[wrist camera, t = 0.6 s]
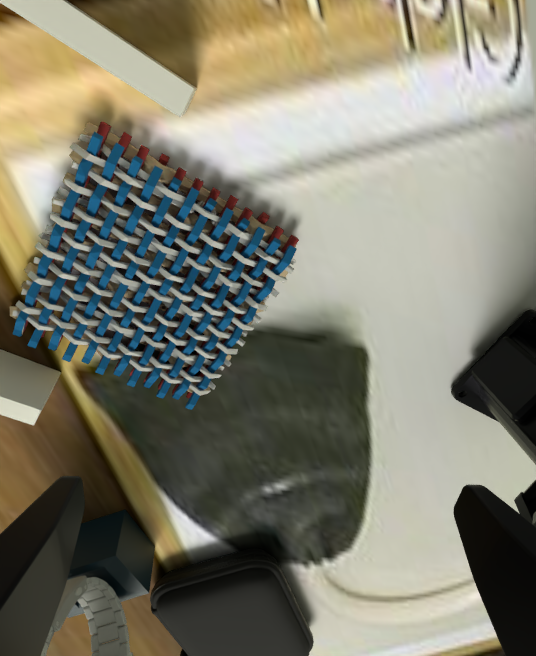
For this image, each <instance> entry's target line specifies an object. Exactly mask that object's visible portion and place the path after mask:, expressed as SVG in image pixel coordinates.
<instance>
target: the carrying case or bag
mask: <svg viewBox="0 0 536 656" xmlns="http://www.w3.org/2000/svg"><path fill="white" fill-rule="evenodd" d="M150 601H151V611H152V613H153V614H154V615H156V617H157V618H158V619H159V620H160V621H161V623H162V624H163V625H164V626H165V628H166V629H167V630H168V631H169V633H170V634H171V635H172V636H173V637H174V639H175V640H176V641H177V642H178V644H179V645H180V646H181V647H182V651H181V654H180V656H308V655H309V652H310V651H311V649H312V647H313V636H312V633H311V631H310V628H309V626H308V624H307V622H306V620H305V618H304V616H303V614H302V612H301V610H300V608H299V605H298V603H297V601H296V599H295V597H294V595H293V593H292V591H291V589H290V586H289V584H288V582H287V580H286V578H285V576H284V574H283V572H282V570H281V568H280V566H279V564H278V562H277V561H276V560H275V558H274V557H272V556H271V555H269V554H268V553H267V552H265V551H264V550H262V549H247V550H243V551H240V552H236V553H232V554H229V555H225V556H222V557H218V558H215V559H211V560H208V561H204V562H201V563H197V564H194V565H190V566H187V567H183V568H180V569H176V570H173V571H171V572H169V573H167V574H166V575H164V576H163V578H162V579H160V580H159V581H158V582H157V583H156V584H155V586H154V588H153V589H152V592H151V598H150Z"/></svg>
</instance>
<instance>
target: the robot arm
mask: <svg viewBox="0 0 536 656" xmlns="http://www.w3.org/2000/svg"><path fill="white" fill-rule="evenodd" d="M531 318H533V319H532V320H531V321H530V319H531ZM461 391H462V392H461ZM460 392H461V393H460ZM451 394H452V395H453V397H454V398H455V399H456V400H458V401H459V402H461V403H463V404H465V405H467V406H469V407H471V408H473V409H475V410H477V411H479V412H481V413H483V414H485V415H487V416H489V417H490V418H492V419H494V420H496V421H498V422H500V423H501V424H502V426H503V427H504V428H505V429H506V430H507V431H508V433H509V434H510V435H511V436H512V437H513V439H514V440H515V441H516V442H517V443H518V444H519V446H520V447H521V448H522V449H523V450H524V451H525V453H526V454H527V455H528V456H529V457H530V458H531V460H532V461H533V462H534V463H535V464H536V311H535V310H528V311H526V312H525V313H523V314H522V315H521V316H520V317H519V318H518V319H517V320H516V322H515V323H514V324H513V325H512V326H511V327H510V328H509V329H508V330H507V331H506V332H505V333H504V334H503V335H502V336H501V337H500V338H499V339H498V340H497V341H496V343H495V344H494V345H493V346H492V347H491V348H490V349H489V350H488V351H487V352H486V353H485V354H484V355H483V356H482V357H481V358H480V359H479V360H478V361H477V363H476V364H475V365H474V366H473V367H472V368H471V369H470V370H469V371H468V372H467V373H466V374H465V375H464V376H463V377H462V378H461V379H460V380H459V381H458V382H457V384H456V385H455V386H454V387H453V388H452V390H451ZM514 501H515V503H516V506H517V508H518V511H519V513H520V514H519V513H518V512H516V511H515V510H514V509H513V508H511V507H510V506H509V505H507V504H506V503H505V502H504V501H502V500H501V499H500V498H499V497H497V496H496V495H495V494H493V493H492V492H491V491H490V490H488V489H487V488H486V487H484V486H482V485H466V486H464V487H463V489H462V491H461V493H460V495H459V498H458V500H457V502H456V504H455V506H454V517H455V521H456V524H457V527H458V531H459V534H460V537H461V540H462V543H463V547H464V550H465V553H466V556H467V559H468V563H469V566H470V569H471V572H472V575H473V578H474V581H475V583H476V586H477V588H478V591H479V593H480V596H481V598H482V601H483V603H484V605H485V608H486V610H487V613H488V615H489V617H490V620H491V622H492V625H493V627H494V630H495V632H496V634H497V637H498V639H499V642H500V644H501V646H502V649H503V651H504V654H505V656H536V480H535V481H534V482H533V483H532V484H531V485H530V486H529V487H528V489H527V490H526V491H525V492H521V493H520V494H519V495H518V496H517V497H516V498H515V500H514ZM84 507H85V500H84V491H83V483H82V479H81V477H78V476H62V477H60V478H59V479H57V480H56V481H55V482H54V483H53V484H52V485H51V486H50V487H49V488H48V489H47V490H46V491H45V492H44V493H43V494H42V495H41V496H40V497H39V498H38V499H36V500H35V501H34V502H33V503H32V504H31V505H30V506H29V507H28V508H27V509H26V510H25V511H24V512H23V513H22V514H21V515H20V516H19V517H18V518H17V519H16V520H14V521H13V522H12V523H11V524H10V525H9V526H8V527H7V528H6V529H5V530H4V531H3V532H2V533H1V534H0V656H41V653H42V651H43V648H44V645H45V642H46V639H47V637H48V634H49V631H50V628H51V626H52V623H53V620H54V617H55V614H56V612H57V609H58V606H59V603H60V600H61V598H62V595H63V592H64V589H65V586H66V582H67V578H68V575H69V571H70V567H71V563H72V558H73V554H74V550H75V546H76V542H77V538H78V534H79V530H80V526H81V522H82V517H83V513H84Z"/></svg>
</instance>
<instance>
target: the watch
mask: <svg viewBox="0 0 536 656" xmlns="http://www.w3.org/2000/svg"><path fill="white" fill-rule="evenodd" d="M154 550H155V547H154V545H153V544H152V543H151V541H150V540H149V539H148V538H147V536H146V535H145V534H144V533H143V531H142V530H141V529H140V528H139V526H138V525H137V524H136V522H135V521H134V520H133V519H132V517H131V516H130V515H129V514H128V512H127V511H126V510H122V511H119V512H116V513H113V514H110V515H107V516H104V517H101V518H98V519H94V520H91V521H88V522H85V523H82V524H81V526H80V530H79V534H78V538H77V542H76V546H75V550H74V554H73V558H72V563H71V567H70V571H69V575H68V578H67V582H66V586H65V589H64V592H63V595H62V598H61V600H60V603H59V606H58V609H57V612H56V614H55V617H54V620H53V623H52V626H51V628H50V631H49V634H48V637H47V639H46V642H45V645H44V648H43V651H42V653H41V656H46V652H47V649H48V647H49V644H50V641H51V639H52V636H53V634H54V632H56V631H58V630H60V629H61V627H62V625H63V623H64V621H65V619H66V617H68V618H70V617H73V616H76V615H79V614H83V613H85V615H86V618H87V619H89V621H88V624H89V629H90V634H91V635H92V637H91V650H92V652H95V653H93V654H92V656H133V653H130V647H129V643H126V642H129V634H128V628H127V625H125V624H126V623H127V622H126V618H125V614H124V611H123V609H122V605H121V602H122V601H125V600H128V599H131V598H135V597H138V596H141V595H144V594H148V593H149V589H150V581H151V574H152V566H153V558H154ZM115 621H116V622H115ZM112 622H113V623H112ZM105 624H106V625H105ZM102 625H103V626H102ZM122 625H123V626H122ZM99 626H100V627H99ZM96 633H97V634H96ZM93 634H94V635H93ZM115 639H118V640H115ZM112 640H115V641H112ZM109 641H111V642H109ZM105 642H108V643H105ZM102 643H105V644H102ZM123 643H125V644H123ZM96 651H98V652H96Z"/></svg>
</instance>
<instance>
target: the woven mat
mask: <svg viewBox="0 0 536 656" xmlns="http://www.w3.org/2000/svg"><path fill="white" fill-rule="evenodd" d="M110 128H111V126H110V125H108V124H106V123H105V122H101V123H100V125H99V127H98V126H96V125H94V124H91V123H89V122H87V124H86V126H85V128H84V132H86V133H87V134H89V135H90V136H88V135H83V134H80V136H79V139H78V140H81V141H85V142H89V145H88V148H87V151H85V150H84V149H82V148H81V147H80V146H78V145H77V144H76V143H73V144H72V145H71V146H70V148H71V149H73V152H72V153H71V154H70V155H69V156H70V157H71V158H72V159H73V161H74V162H72V166H71V167H72V168H75V169H77V173H76V176H75V175H72V174H70V173H68V172H67V173H66V175H65V177H64V179H63V183H65V184H66V185H67V186H68V187H70V188H71V190H70V192H69V191H67V190H65V189H64V188H62V187H60V188H59V190H58V192H57V193H59V194H61V195H63V196H65V197H67V199H59V198H57V197H53V199H52V212H56V213H59V214H61V216H60V217H59V216H58V215H56V214H55V213H52V214H50V219H52V220H53V221H54V222H55V223H54V224H53V226H49V225H47V227H46V231H49V232H51V233H52V234H51V235H49V234H45V233H42V234H40V235H39V237H40V238H41V239H45V240H48V241H50V243H49V244H47V245H46V247H44V246H43V245H42V244H41V243H39V242H38V243H37V244H36V246H35V248H37V249H38V250H39V251H41V252H42V253H43V256H42V258H38V257H35V258H34V263H37V264H38V265H37V264H34V263H31V262H29V264H28V265H27V266H26V268H25V269H24V270H25V272H26V273H27V274H28V275H27V276H28V277H30V279H31V280H32V281H33V282H31V281H28V280H27V282H23V284H22V286H21V288H23V289H22V293H21V294H22V295H26V299H25V304H23V303H22V302H20V301H18V302H17V303H16V306H10V316H11V317H13V318H15V319H17V320H16V323H15V328H14V331H13V335H16V336H18V337H20V336H22V334H23V333H24V331H25V329H26V327H27V324H28V322H30V323H31V324H32V325H33V326H34V327H36V329H35V331H34V333H33V335H32V337H31V339H30V341H29V343H28V345H27V346H30V347H33V348H35V349H36V347H37V344H38V342H39V340H40V338H41V337H42V338H43V337H44V335H45V332H46V330H48V331H54V333H53V335H52V337H51V340H50V343H49V346H48V348H49V349H51V350H54V351H55V350H56V349H57V347H58V346H59V343H60V341H61V339H62V337H63V335H64V336H65V337H66V338H67V339H68V340H69V341H71V342H70V344H69V346H68V348H67V350H66V352H65V354H64V356H63V358H62V359H63V360H66V361H68V362H70V361H71V359H72V357H73V355H74V352H75V350H76V348H77V346H78V345H89V347H88V349H87V351H86V353H85V355H84V357H83V359H82V362H84V363H86V364H89V363H90V361H91V359H92V357H93V355H94V353H95V351H97V352H98V353H99V354H100V355H101V356H102V358H101V360H100V363H99V365H98V367H97V369H96V371H95V372H96V373H99V374H102V375H103V373H104V371H105V369H106V367H107V365H108V363H109V361H110V359H111V360H119V362H118V363H117V365H116V367H115V370H114V375H117V376H119V377H120V375H121V374H122V372H123V371H124V369H125V368H126V367H127V365H128V364H129V363H130V364H132V365H133V366H134V368H133V369H132V371H131V373H130V376H131V377H130V379H129V381H128V383H127V385H129V386H132V387H134V386H135V384H136V382H137V380H138V378H139V376H140V374H141V372H142V371H149V373H148V374H147V376H146V378H145V380H144V387H147V388H150V387H151V385H152V384H153V383H154V382H155V381H156V380H157V378H158V377H159V376H161V377H162V378H163V379H162V380H161V382H160V384H159V385H158V389H160V390H159V391H158V393H157V397H160V398H164V396H165V395H166V393H167V391H168V389H169V387H170V385H171V383H177V385H176V386H175V388H174V389H173V392H172V394H173V395H172V397H173V398H175V399H177V400H178V399H179V398H180V396H181V395H182V394H183V393H185V392H186V391H188V393H187V396H186V397H187V398H190V399H189V401H188V402H187V404H186V407H185V408H188V409H191V410H192V409H193V407H194V406H195V404H196V402H197V400H198V398H199V397H200V396H201V395H204V394H207V393H209V392H210V388H212V389H215V387H216V386H215V385H214V384H213V383H212V382H211V379H212V378H219V377H220V376H221V375H219V374H214V372H215V371H216V370H217V369H220V370H223V369H224V368H225V367H223V366H221V365H222V364H224V363H225V364H226V365H227V366H230V365H231V362H230V361H229V360H230V358H231V355H230V354H237V351H238V349H231V347H232V346H233V345H234V344H235V343H236V342H237V343H238V344H239V345H241V346H243V345H244V343H245V341H244V340H242V339H241V338H240V336H241V335H242V336H244V337H245V336H246V335H247V331H245V330H253V329H254V326H253V325H251V323H252V322H253V320H254V321H256V322H257V323H259V322H260V321H261V318H260V317H259V316H257V315H256V314H255V313H258V312H262V311H266V309H267V307H268V306H266V305H265V303H264V302H262V300H263V299H265V300H266V299H268V298H269V297H268V295H269V294H270V293H271V294H272V295H273V296H275V297H276V296H277V295H278V294H279V292H278V291H276V290H275V289H274V288H273V287H274V284H275V281H278V282H282V283H284V282H285V281H287V279H286V275H287V274H288V272H289V273H290V274H291V273H292V272H293V270H294V268H292V267H291V266H290V265H289V264H290V263H291V264H292V265H293V264H294V263H295V262H296V261H295V260H294V259H292V258H293V256H294V253H295V251H296V248H295V247H296V244H297V242H298V241H299V239H298V238H297V237H295V236H293V235H291V236H290V237H289V238H288V237H286V236H285V235H283V234H282V233H283V231H284V230H283V229H281V228H280V227H278V226H276V227H275V229H273V228H271V227H268V226H266V225H264V224H265V223H266V222H267V221H268V219H269V215H267V214H266V213H264V212H263V213H262V214H261V215H260V216H259V217H258V218H257V219H255V218H254V217H253V216H251V215H252V214H253V212H252V211H251V210H250V209H248V208H246V207H245V209H244V210H243V211H242V210H240V209H239V208H237V207H235V205H236V203H237V201H238V199H237V198H235V197H234V196H232V195H230V197H229V199H228V201H225V200H224V199H222V198H220V197H218V196H219V194H220V191H219V190H217V189H215V188H214V187H213V189H212V190H211V192H210V191H208V190H207V189H205V188H203V187H202V185H203V181H201V180H200V179H198V178H195V180H194V182H193V181H191V180H190V179H188V178H186V177H185V174H186V171H185V170H183V169H181V168H180V167H179V168H178V169H177V171H175V170H174V169H172V168H169V167H167V166H166V165H167V163H168V160H169V157H168V156H166V155H165V154H163V153H162V155H161V156H160V158H159V161H157V160H156V159H155V158H153V157H152V156H150V155H148V152H149V149H148V148H146V147H145V146H143V145H141V146H140V149H137V148H136V147H134V146H132V145H131V144H129V143H130V141H131V138H132V136H130V135H128V134H127V133H125V132H124V133H123V135H122V136H121V138H119V137H118V136H116V135H114V134H113V133H111V132H109V131H110ZM109 148H110V149H111V150H112V151H110V150H109ZM102 152H103V153H104V154H105V155H106V156H107V157H108V159H107V161H105V160H102V159H100V156H101V153H102ZM123 157H124V158H125V159H127V160H129V161H130V162H131V163H129V162H127V161H126V160H124V159H123ZM119 165H121V166H123V167H125V168H126V169H128V172H127V174H126V173H125V172H123V171H122V170H120V169H119V168H118V167H119ZM141 169H142V170H141ZM137 176H139V177H141V178H143V179H144V180H146V181H147V182H143V181H140V180H138V179H137ZM91 178H93V179H94V180H95V181H96V182H98V185H97V187H96V186H94V185H92V184H91V183H89V180H90V179H91ZM162 183H163V184H167V185H169V187H168V188H167V187H165V186H164V185H163V184H162ZM109 188H111V189H114V190H116V191H118V193H117V196H116V199H115V198H114V197H113V196H112V195H111V194H110V193H109V192H108V190H109ZM178 190H179V191H181V192H182V193H184V194H186V197H183V196H181V195H179V194H177V191H178ZM82 195H84V196H86V197H88V198H89V199H90V200H85V199H82ZM128 197H129V198H130V199H131V200H132V201H133V202H135V203H136V206H132V205H128V204H126V201H127V199H128ZM138 197H139V198H138ZM195 201H198V202H199V203H197V204H196V203H195ZM79 204H82V205H84V206H87V209H86V208H84V207H82V206H80V205H79ZM145 209H147V210H151V211H154V212H156V213H155V215H154V217H152V216H150V215H149V214H147V213H145V212H144V210H145ZM194 211H198V212H199V213H198V215H196V214H195V213H194ZM216 212H217V213H219V214H220V215H219V216H217V215H216ZM98 213H99V214H100V215H101V216H103V217H104V218H103V217H101V216H99V215H97V214H98ZM174 217H175V218H174ZM73 218H74V219H76V220H78V221H80V222H81V223H80V224H76V223H73V222H71V221H72V219H73ZM105 218H106V219H105ZM163 218H165V219H167V220H168V221H169V222H171V223H172V224H171V226H169V225H167V224H165V223H163V222H162V220H163ZM208 218H209V219H212V221H209V220H207V219H208ZM121 219H122V220H121ZM123 220H126V221H127V222H125V221H123ZM230 220H231V221H232V222H234V223H236V224H235V226H233V225H231V224H230V223H229V221H230ZM116 224H117V225H116ZM137 224H138V225H139V226H141V227H143V228H145V229H147V231H146V232H145V231H143V230H141V229H139V228H137V227H136V226H137ZM118 225H119V226H118ZM120 226H121V227H120ZM122 227H123V228H122ZM91 228H94V229H96V230H98V231H100V234H99V236H97V235H95V234H94V233H93V232H92V231H91ZM180 228H181V229H185V230H188V233H187V235H185V234H184V233H182V232H180V231H179V230H180ZM72 229H74V230H77V231H74V230H72ZM244 230H246V231H248V232H249V233H246V232H243V231H244ZM134 233H135V234H134ZM136 234H137V235H136ZM155 234H156V235H158V236H160V237H162V238H164V239H163V241H162V243H160V242H159V241H158V240H157V239H156V238H155V237H154V235H155ZM138 235H139V236H138ZM88 236H89V237H90V238H91V239H89V238H88ZM140 236H141V237H143V238H141V237H140ZM109 237H112V238H114V239H116V240H118V243H114V242H110V241H108V239H109ZM199 237H200V238H201V239H203V240H204V241H205V242H204V244H202V243H200V242H198V241H196V240H197V239H198V238H199ZM217 241H218V242H217ZM172 243H173V244H175V245H177V246H179V247H180V249H179V251H177V250H174V249H171V248H170V247H171V245H172ZM127 246H129V247H131V248H133V249H135V250H136V252H135V254H133V253H131V252H130V251H129V250H128V249H127V248H126V247H127ZM258 246H261V247H263V248H262V249H260V248H259V247H258ZM60 247H61V248H63V249H64V250H65V251H66V252H68V253H66V252H64V251H62V250H60ZM213 247H216V248H219V250H218V251H217V253H216V252H215V251H214V250H213ZM278 247H279V248H281V249H282V250H281V251H279V250H277V249H278ZM112 248H113V249H112ZM189 252H190V253H192V254H194V255H196V256H197V257H196V258H195V260H193V259H192V258H190V257H189V256H187V255H188V253H189ZM85 253H86V254H85ZM123 253H124V254H123ZM87 254H89V255H87ZM273 254H275V255H277V257H276V258H275V257H273V256H272V255H273ZM232 255H233V256H234V257H235V260H234V261H233V260H232V259H231V258H230V257H231V256H232ZM78 257H79V258H81V259H79V258H78ZM100 257H101V258H102V259H103V260H104V261H106V262H107V263H108V264H106V263H104V262H102V261H100V260H99V258H100ZM143 257H146V258H147V259H148V260H146V259H143ZM248 258H249V259H248ZM82 259H83V260H82ZM55 260H57V261H59V262H61V263H63V266H62V269H61V270H60V269H59V268H58V267H57V266H56V265H55V264H54V262H55ZM84 260H85V261H84ZM205 263H206V264H207V265H208V266H209V267H207V266H204V264H205ZM245 264H247V265H250V266H251V267H250V269H247V268H245V267H244V266H245ZM116 267H119V268H124V269H126V270H127V271H126V273H125V275H124V276H123V275H122V274H120V273H119V272H118V271H117V270H116ZM163 267H166V268H169V270H168V271H167V270H165V269H164V268H163ZM72 269H75V270H78V271H80V272H81V274H80V276H79V275H73V274H71V272H72ZM52 271H53V272H52ZM178 272H181V273H183V274H185V276H184V277H179V276H176V275H177V273H178ZM220 272H224V273H226V275H225V276H224V275H222V274H221V273H220ZM263 272H264V273H265V276H264V277H263V278H262V277H261V276H260V275H261V274H262V273H263ZM135 274H136V275H137V276H138V277H140V278H141V279H142V281H141V282H137V281H134V280H132V279H133V277H134V275H135ZM90 277H92V278H94V279H96V280H98V281H99V283H98V286H96V285H94V284H93V283H92V282H91V281H90V280H89V279H90ZM238 278H240V279H242V281H241V283H237V282H235V281H236V280H237V279H238ZM195 280H196V281H198V282H200V283H201V284H200V285H199V286H198V285H197V284H195V283H194V282H195ZM178 282H180V283H178ZM150 284H153V285H158V286H159V288H158V290H157V292H156V291H155V290H153V289H152V288H150V287H149V286H150ZM252 285H254V286H256V288H255V289H254V288H251V287H252ZM106 287H107V288H108V289H109V290H110V291H108V290H105V289H106ZM191 288H192V289H191ZM210 288H212V289H214V290H216V291H215V293H211V292H208V290H209V289H210ZM63 291H64V292H65V293H66V294H68V295H69V296H70V298H69V297H68V296H67V295H66V294H65V293H64V292H63ZM167 293H168V294H169V295H170V296H172V298H171V297H167V296H165V295H166V294H167ZM248 293H250V294H249V295H248ZM226 296H228V297H230V298H231V299H230V300H229V301H228V300H226V299H225V297H226ZM126 298H131V299H132V300H131V302H130V301H129V300H128V299H126ZM38 301H39V302H40V303H41V304H43V305H44V306H45V307H44V308H43V309H40V308H35V306H36V304H37V302H38ZM79 301H85V302H89V303H88V305H87V306H86V305H84V304H82V303H80V302H79ZM141 301H143V302H145V303H147V304H149V306H148V307H143V306H139V304H140V302H141ZM182 302H188V303H189V304H188V306H186V305H184V304H183V303H182ZM97 306H99V307H100V308H101V309H102V310H104V311H105V312H106V313H105V314H104V313H102V312H100V311H98V310H96V309H97ZM201 306H202V307H203V308H204V311H203V312H202V311H197V310H198V309H199V308H200V307H201ZM238 306H240V307H241V308H239V307H238ZM158 309H160V310H162V311H164V312H165V313H164V314H163V316H161V315H160V314H159V313H158V312H157V310H158ZM54 310H57V311H62V312H63V314H62V317H61V319H59V318H58V317H57V316H55V315H54V314H53V312H54ZM142 312H143V313H142ZM214 315H217V316H218V317H216V316H214ZM113 316H116V317H123V318H122V320H121V321H120V322H119V321H117V320H115V319H113V318H112V317H113ZM174 316H175V317H177V318H179V319H180V320H179V321H178V322H175V321H171V320H172V318H173V317H174ZM71 318H73V319H74V321H75V322H76V323H77V324H74V323H69V322H70V320H71ZM211 321H212V322H213V323H211ZM231 321H232V322H233V325H232V324H230V323H231ZM131 322H132V323H133V324H135V325H136V326H137V327H136V329H135V328H133V327H131V326H129V324H130V323H131ZM189 324H192V325H194V327H193V329H191V328H189V327H188V326H189ZM88 328H98V329H97V330H96V332H95V334H94V333H93V332H92V331H90V330H89V329H88ZM226 328H227V329H226ZM106 329H109V330H111V331H114V332H115V333H114V335H113V337H112V338H105V337H103V335H104V333H105V331H106ZM145 331H147V332H153V334H152V336H151V335H149V334H146V333H144V332H145ZM202 333H203V334H204V335H201V334H202ZM123 336H125V337H128V338H130V341H129V343H128V345H127V347H126V346H124V345H123V344H122V343H121V342H120V341H121V339H122V337H123ZM164 336H165V337H166V338H168V340H167V342H165V341H162V340H161V339H162V338H163V337H164ZM218 340H223V341H222V343H221V342H220V341H218ZM139 343H141V344H144V345H146V346H145V348H144V350H143V352H139V351H134V350H135V349H136V347H137V346H138V344H139ZM176 345H181V346H180V347H179V349H177V348H176V347H175V346H176ZM154 350H158V351H160V354H159V356H158V357H157V359H155V358H154V357H153V356H152V354H153V352H154ZM194 350H196V351H197V353H196V354H195V355H194V354H192V352H193V351H194ZM206 358H211V359H210V360H207V359H206ZM167 360H168V361H169V362H170V363H171V364H165V362H166V361H167ZM182 367H187V369H186V370H185V371H184V370H183V369H182ZM199 370H200V371H201V373H200V374H199V375H198V376H194V375H195V374H196V373H197V372H198V371H199Z"/></svg>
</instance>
